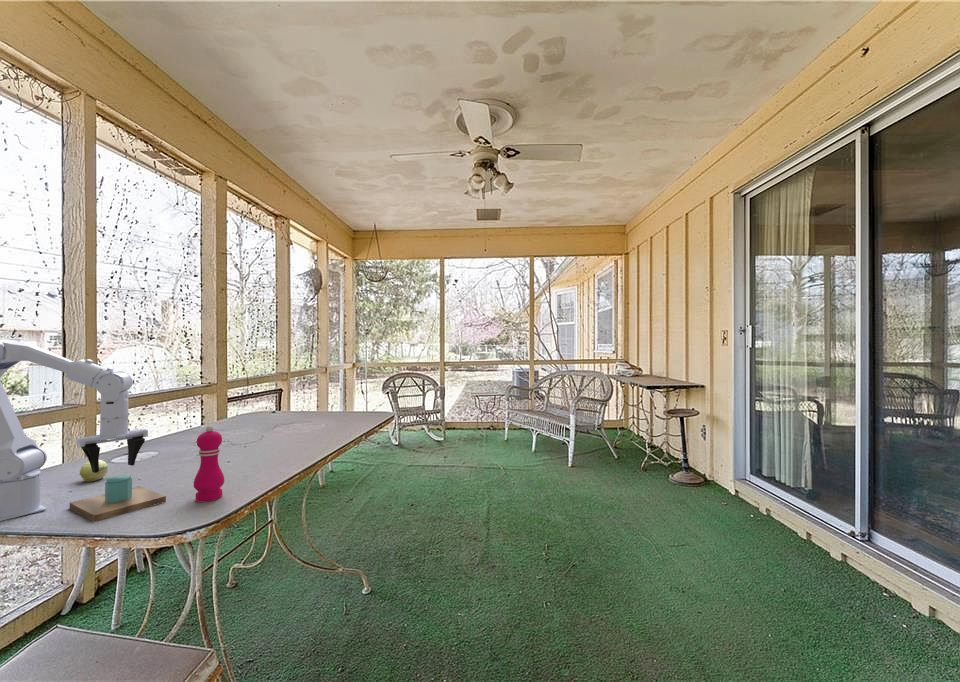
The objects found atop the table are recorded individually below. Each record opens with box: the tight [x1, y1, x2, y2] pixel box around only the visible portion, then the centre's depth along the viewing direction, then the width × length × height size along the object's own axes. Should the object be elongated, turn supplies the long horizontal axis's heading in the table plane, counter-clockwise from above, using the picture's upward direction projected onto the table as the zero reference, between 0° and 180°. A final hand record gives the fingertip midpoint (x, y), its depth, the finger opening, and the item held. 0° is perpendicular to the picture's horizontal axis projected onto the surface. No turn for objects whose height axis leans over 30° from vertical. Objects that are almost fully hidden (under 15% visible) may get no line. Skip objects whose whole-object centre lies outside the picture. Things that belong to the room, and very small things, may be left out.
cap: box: [104, 473, 133, 503], centre depth 112 cm, size 5×5×6 cm
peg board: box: [69, 485, 167, 522], centre depth 112 cm, size 15×16×6 cm
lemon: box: [79, 459, 109, 483], centre depth 133 cm, size 6×7×7 cm
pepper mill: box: [193, 425, 225, 503], centre depth 118 cm, size 7×7×20 cm
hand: (113, 468), depth 113 cm, fingers open, 7 cm apart
